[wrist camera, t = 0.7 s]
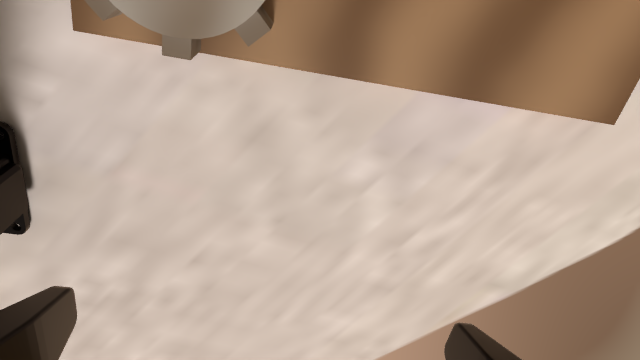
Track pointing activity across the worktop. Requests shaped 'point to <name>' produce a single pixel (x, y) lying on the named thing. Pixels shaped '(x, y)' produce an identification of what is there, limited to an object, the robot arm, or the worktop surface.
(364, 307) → the worktop surface
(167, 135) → the worktop surface
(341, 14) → the gear board
